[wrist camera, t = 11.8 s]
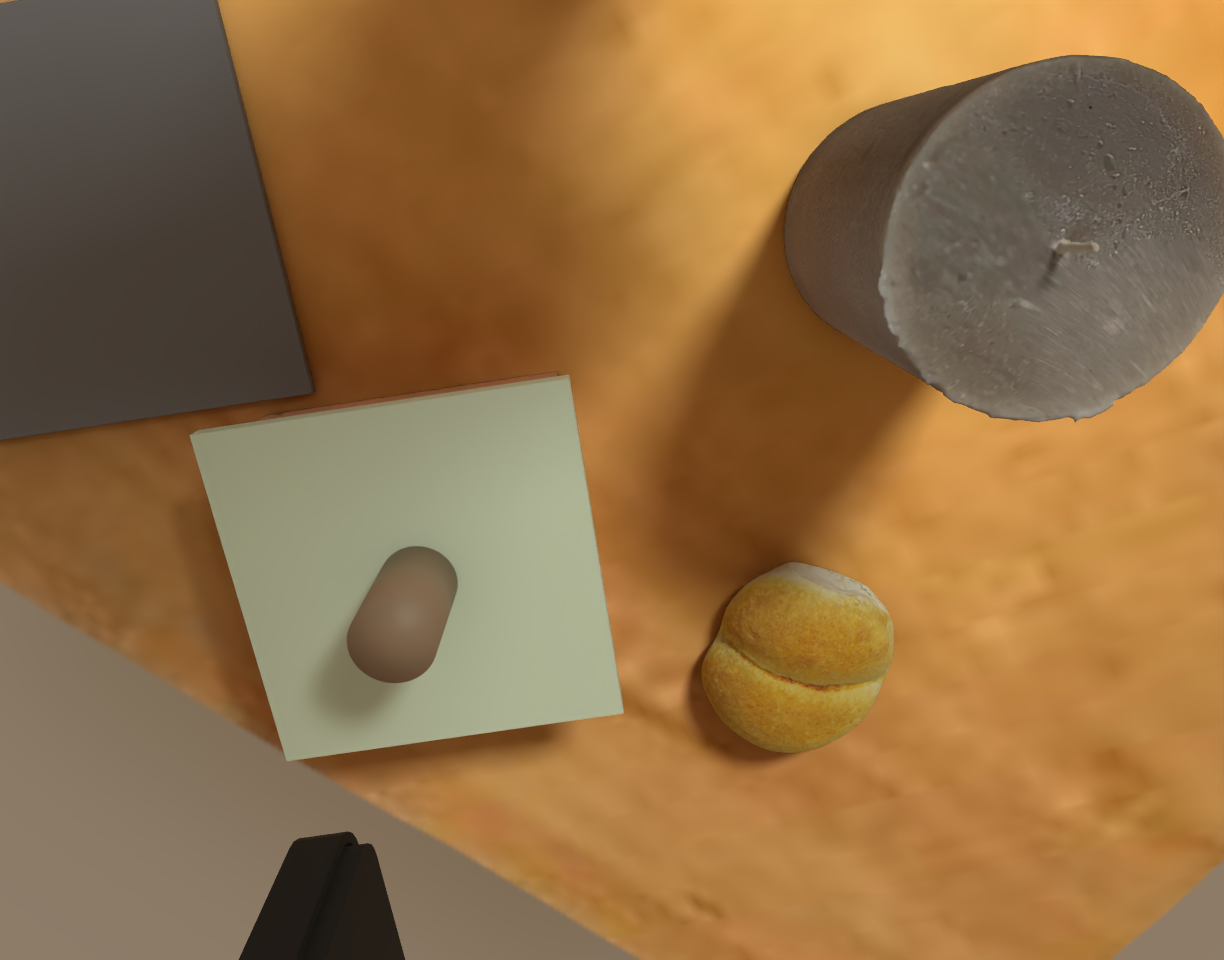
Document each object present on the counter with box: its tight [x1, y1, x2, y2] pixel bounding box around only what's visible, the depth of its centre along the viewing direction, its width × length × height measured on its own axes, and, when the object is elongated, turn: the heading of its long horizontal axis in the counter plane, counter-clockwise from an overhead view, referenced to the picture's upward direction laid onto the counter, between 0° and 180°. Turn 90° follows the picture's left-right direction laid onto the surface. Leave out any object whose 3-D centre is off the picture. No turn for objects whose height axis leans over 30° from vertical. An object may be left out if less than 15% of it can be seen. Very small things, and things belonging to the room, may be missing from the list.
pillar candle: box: [784, 55, 1224, 422], centre depth 30 cm, size 10×10×15 cm
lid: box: [189, 374, 623, 761], centre depth 33 cm, size 14×14×6 cm
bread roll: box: [701, 562, 894, 753], centre depth 41 cm, size 8×9×4 cm
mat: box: [0, 0, 315, 440], centre depth 36 cm, size 16×16×1 cm
